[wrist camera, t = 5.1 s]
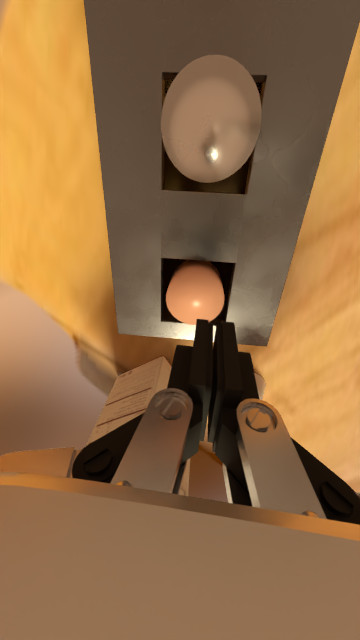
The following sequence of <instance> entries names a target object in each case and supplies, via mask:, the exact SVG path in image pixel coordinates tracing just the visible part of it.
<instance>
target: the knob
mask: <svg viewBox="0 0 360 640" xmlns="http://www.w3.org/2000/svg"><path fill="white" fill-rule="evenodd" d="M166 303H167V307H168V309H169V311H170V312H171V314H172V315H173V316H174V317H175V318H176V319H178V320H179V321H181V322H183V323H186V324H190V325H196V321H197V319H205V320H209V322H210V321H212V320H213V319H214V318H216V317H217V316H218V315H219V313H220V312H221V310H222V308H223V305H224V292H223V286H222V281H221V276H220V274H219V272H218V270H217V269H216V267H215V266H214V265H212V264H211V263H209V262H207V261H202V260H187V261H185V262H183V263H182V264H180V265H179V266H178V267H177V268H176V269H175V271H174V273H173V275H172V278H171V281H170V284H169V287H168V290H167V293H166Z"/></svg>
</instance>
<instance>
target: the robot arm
mask: <svg viewBox="0 0 360 640" xmlns="http://www.w3.org/2000/svg"><path fill="white" fill-rule="evenodd" d="M207 416H208V442H212V443H213V452H215V455H216V456H217V457H218V458H219V459H220V460H221V461H222V462H223V473H224V479H225V485H226V491H227V497H228V503H227V502H221V501H215V500H209V499H202V498H196V497H190V496H184V495H179V493H180V489H181V485H182V481H183V477H184V473H185V469H186V465H187V460H188V459H189V458H191V457H192V456H193V455H194V454H196V453H197V452H198V447H199V441H204V434H205V429H206V423H207ZM0 640H360V494H359V493H356V492H354V490H353V489H352V488H351V487H350V486H349V485H348V484H347V483H346V482H344V481H343V480H342V479H341V478H339V477H338V476H337V475H336V474H335V473H333V472H332V471H331V470H330V469H329V468H327V467H326V466H325V465H324V464H323V463H321V462H320V461H319V460H318V459H316V458H315V457H314V456H313V455H312V454H310V453H309V452H308V451H307V450H306V449H304V448H303V447H302V446H301V445H300V444H298V443H297V442H296V441H295V440H294V439H292V438H291V437H290V435H289V433H288V431H287V428H286V426H285V424H284V422H283V419H282V417H281V415H280V414H279V412H278V411H277V410H276V409H275V408H274V407H273V406H272V405H270V404H269V403H267V402H265V401H263V400H260V399H259V394H258V389H257V384H256V379H255V374H254V369H253V364H252V359H251V355H250V353H245V352H238V347H237V339H236V332H235V324H234V322H225V321H222V322H221V324H217V325H216V331H215V338H214V345H213V323H209V320H205V319H197V321H196V329H195V337H194V344H193V347H192V346H183V345H177V346H176V350H175V355H174V359H173V364H172V368H171V372H170V377H169V381H168V386H167V389H163V390H161V391H159V392H157V393H156V394H155V395H154V396H153V397H152V399H151V400H150V402H149V404H148V407H147V409H146V411H145V412H144V413H142V414H140V415H139V416H137V417H135V418H133V419H132V420H130V421H128V422H127V423H125V424H123V425H121V426H120V427H118V428H116V429H114V430H113V431H111V432H109V433H107V434H106V435H104V436H102V437H101V438H99V439H97V440H95V441H94V442H92V443H90V444H89V445H87V446H86V447H85V448H83V449H79V450H75V448H74V447H66V448H54V449H42V450H31V451H20V452H12V453H8V454H4V455H3V456H1V457H0Z"/></svg>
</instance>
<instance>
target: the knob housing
mask: <svg viewBox="0 0 360 640" xmlns="http://www.w3.org/2000/svg"><path fill="white" fill-rule="evenodd" d="M84 6H85V16H86V25H87V35H88V45H89V55H90V64H91V74H92V84H93V93H94V103H95V113H96V122H97V132H98V142H99V152H100V161H101V171H102V181H103V190H104V200H105V210H106V220H107V229H108V239H109V249H110V258H111V268H112V278H113V287H114V297H115V307H116V317H117V326H118V334H128V335H139V336H151V337H163V338H174V339H186V340H194V337H195V329H196V325H190V324H186V323H183V322H181V321H179V320H178V319H176V318H175V317H174V316H173V315H172V314H171V312H170V311H169V309H168V307H167V303H166V295H163V258H173V259H187V260H202V261H216V262H231V263H233V269H232V275H231V281H230V287H229V294H228V300H224V305H223V308H222V310H221V312H220V313H219V315H218V316H217V317H216V318H214V319H213V320H212V321H210V322H209V323H213V342H214V338H215V331H216V325H217V324H221V322H222V321H225V322H234V324H235V332H236V339H237V344H244V345H256V346H267V344H268V341H269V337H270V334H271V330H272V327H273V323H274V320H275V316H276V313H277V309H278V306H279V302H280V299H281V295H282V292H283V288H284V285H285V281H286V278H287V274H288V271H289V267H290V264H291V260H292V257H293V253H294V250H295V246H296V243H297V239H298V236H299V232H300V229H301V225H302V222H303V218H304V215H305V211H306V208H307V204H308V201H309V197H310V194H311V190H312V187H313V183H314V180H315V176H316V173H317V169H318V166H319V162H320V159H321V155H322V152H323V148H324V145H325V141H326V138H327V134H328V131H329V127H330V124H331V120H332V117H333V113H334V110H335V106H336V103H337V99H338V96H339V92H340V89H341V85H342V82H343V78H344V75H345V71H346V68H347V64H348V61H349V57H350V54H351V50H352V47H353V43H354V40H355V36H356V33H357V29H358V26H359V22H360V0H84ZM207 55H224V56H227V57H230V58H232V59H234V60H236V61H238V62H239V63H240V64H241V65H243V66H244V67H245V69H246V70H247V71H248V72H249V73H250V75H251V76H252V78H253V80H254V82H255V83H263V84H262V90H261V96H260V101H261V110H262V114H261V127H260V132H259V136H258V139H257V142H256V145H255V147H254V149H253V151H252V153H251V158H250V164H249V170H248V176H247V182H246V189H245V194H235V193H217V192H199V191H180V190H164V143H163V139H162V133H161V114H162V108H163V104H164V100H165V80H174V79H175V77H176V76H177V75H178V74H179V72H180V71H181V70H182V69H183V68H184V67H185V66H187V65H188V64H189V63H191V62H192V61H194V60H196V59H198V58H200V57H203V56H207Z"/></svg>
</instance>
